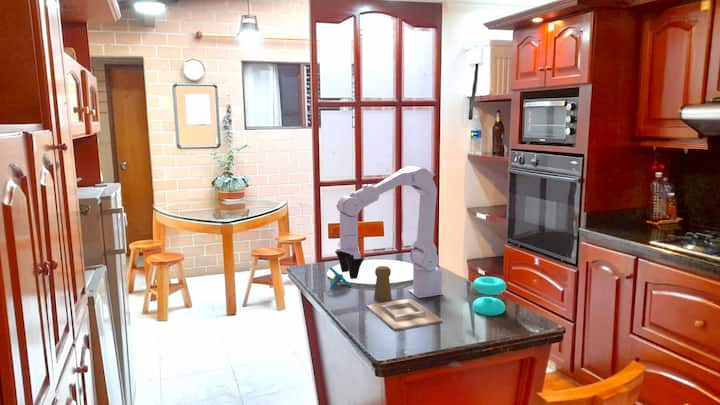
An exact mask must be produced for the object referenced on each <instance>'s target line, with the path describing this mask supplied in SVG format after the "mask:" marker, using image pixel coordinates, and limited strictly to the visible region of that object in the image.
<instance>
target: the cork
mask: <svg viewBox="0 0 720 405" xmlns="http://www.w3.org/2000/svg"><path fill="white" fill-rule="evenodd" d="M391 273H392V272H391V268H390V267H388V266H386V265H380V266H377V267H375V271H374V274H375V276H376V281H375V286H374V287H375V289H374V296H373V300H374V301H377V302H379V303H384V302H390V301H392V299H393V298H392V291H391V283H390V282H391V281H390V276H391Z"/></svg>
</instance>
